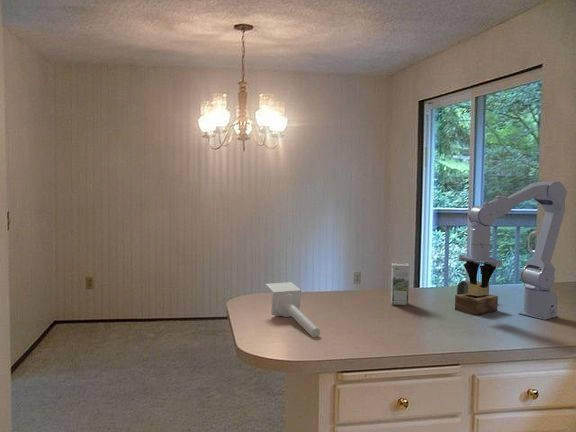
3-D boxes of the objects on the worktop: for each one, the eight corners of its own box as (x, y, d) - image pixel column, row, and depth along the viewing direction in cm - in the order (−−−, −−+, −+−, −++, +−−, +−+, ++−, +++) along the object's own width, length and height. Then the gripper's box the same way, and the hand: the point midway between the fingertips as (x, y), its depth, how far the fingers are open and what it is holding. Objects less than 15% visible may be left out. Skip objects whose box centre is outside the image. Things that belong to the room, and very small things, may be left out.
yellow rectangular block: (479, 292, 179) (479, 281, 179) (488, 294, 176) (489, 283, 176) (467, 294, 176) (468, 283, 176) (477, 296, 173) (478, 285, 173)
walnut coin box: (474, 305, 195) (474, 291, 194) (497, 310, 187) (497, 296, 187) (454, 309, 188) (455, 295, 188) (477, 315, 181) (478, 300, 181)
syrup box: (406, 302, 198) (407, 262, 197) (408, 306, 193) (409, 264, 192) (390, 301, 199) (391, 261, 198) (391, 305, 193) (392, 264, 192)
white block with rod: (291, 282, 185) (331, 316, 155) (290, 307, 186) (329, 346, 157) (265, 283, 181) (301, 319, 152) (264, 309, 183) (299, 349, 154)
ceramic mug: (487, 302, 200) (488, 281, 200) (469, 303, 197) (469, 282, 197) (468, 296, 210) (469, 276, 210) (450, 298, 207) (451, 277, 207)
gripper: (453, 242, 179) (452, 283, 180) (493, 247, 167) (491, 291, 168) (467, 241, 183) (465, 281, 184) (506, 245, 171) (505, 289, 172)
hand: (479, 286), depth 176 cm, fingers closed on yellow rectangular block, 3 cm apart
